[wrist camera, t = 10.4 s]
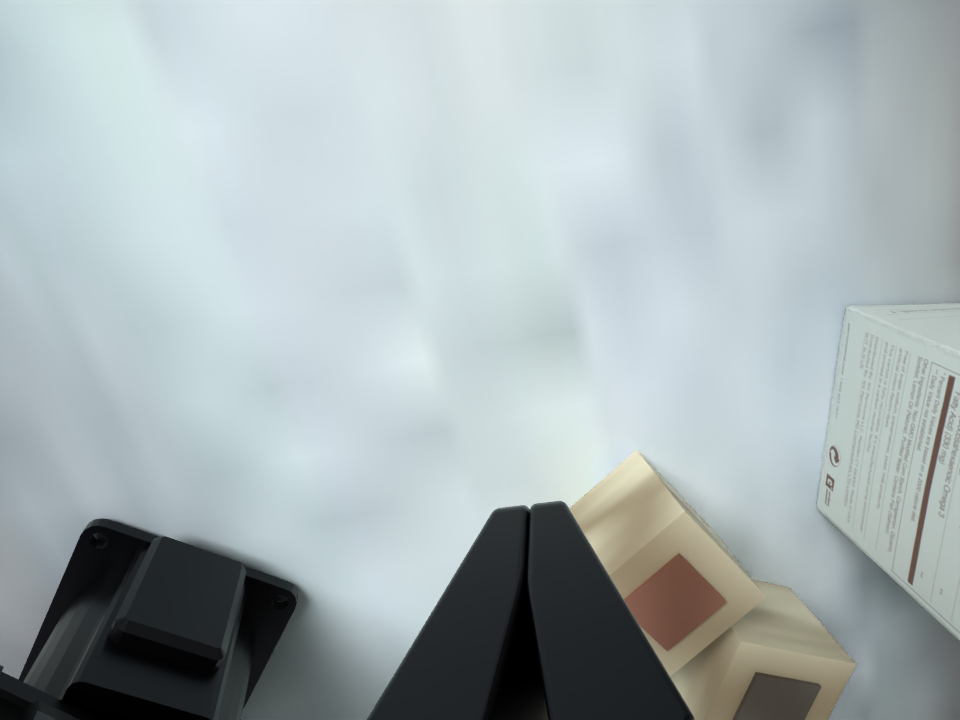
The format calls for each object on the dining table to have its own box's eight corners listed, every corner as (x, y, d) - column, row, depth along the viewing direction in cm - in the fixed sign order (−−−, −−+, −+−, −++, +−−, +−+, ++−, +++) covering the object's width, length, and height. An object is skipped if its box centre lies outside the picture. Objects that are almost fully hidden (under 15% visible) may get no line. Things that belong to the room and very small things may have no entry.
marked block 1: (617, 601, 27) (662, 688, 23) (541, 530, 25) (575, 609, 21) (708, 525, 26) (769, 599, 22) (635, 449, 25) (687, 514, 21)
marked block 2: (743, 679, 28) (804, 772, 25) (644, 661, 28) (691, 754, 24) (788, 586, 27) (859, 667, 23) (687, 564, 26) (743, 644, 23)
